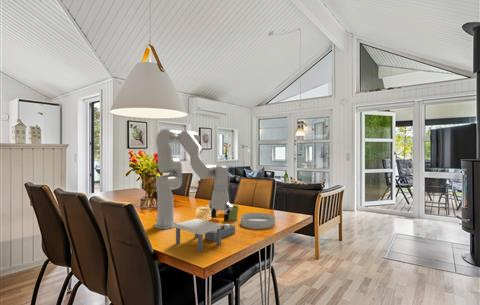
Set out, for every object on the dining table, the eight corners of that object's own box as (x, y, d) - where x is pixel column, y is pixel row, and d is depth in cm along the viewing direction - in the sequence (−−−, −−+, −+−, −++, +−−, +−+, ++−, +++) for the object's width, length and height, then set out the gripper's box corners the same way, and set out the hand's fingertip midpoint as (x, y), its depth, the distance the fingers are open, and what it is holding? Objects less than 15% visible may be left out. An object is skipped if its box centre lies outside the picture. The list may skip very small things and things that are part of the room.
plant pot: (222, 219, 183) (222, 206, 183) (232, 217, 190) (232, 204, 190) (231, 221, 177) (231, 208, 177) (241, 219, 183) (242, 206, 183)
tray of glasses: (204, 239, 141) (204, 229, 141) (226, 231, 156) (226, 222, 156) (213, 242, 138) (214, 231, 138) (235, 233, 152) (235, 224, 152)
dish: (273, 230, 159) (273, 222, 159) (237, 228, 163) (237, 219, 163) (276, 221, 181) (276, 213, 181) (244, 219, 185) (244, 211, 185)
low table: (175, 243, 134) (175, 223, 134) (196, 236, 145) (196, 218, 145) (200, 252, 123) (200, 230, 123) (220, 244, 134) (221, 224, 134)
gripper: (205, 187, 149) (204, 217, 150) (228, 191, 138) (226, 223, 139) (214, 185, 155) (213, 215, 155) (237, 189, 144) (236, 221, 145)
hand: (219, 219), depth 147 cm, fingers open, 9 cm apart
